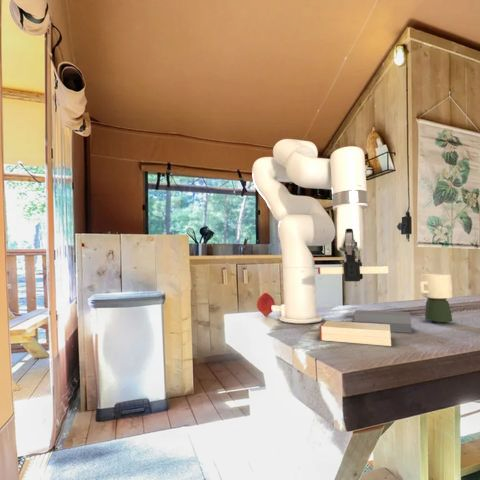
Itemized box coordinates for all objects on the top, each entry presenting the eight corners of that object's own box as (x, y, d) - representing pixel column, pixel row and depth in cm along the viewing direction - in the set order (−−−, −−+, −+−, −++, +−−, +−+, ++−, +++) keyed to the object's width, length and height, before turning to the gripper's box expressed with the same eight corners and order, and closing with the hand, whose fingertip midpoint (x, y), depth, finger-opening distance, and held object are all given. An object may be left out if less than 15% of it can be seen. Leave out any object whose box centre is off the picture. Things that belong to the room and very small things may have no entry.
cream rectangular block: (319, 340, 67) (318, 326, 68) (325, 333, 74) (324, 320, 74) (391, 346, 61) (390, 331, 62) (390, 338, 68) (389, 324, 68)
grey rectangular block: (351, 329, 78) (351, 313, 78) (353, 324, 83) (353, 309, 83) (411, 333, 72) (410, 315, 72) (409, 328, 77) (408, 312, 77)
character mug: (441, 318, 88) (438, 273, 89) (466, 323, 81) (462, 274, 82) (411, 321, 85) (408, 274, 86) (434, 326, 78) (431, 275, 79)
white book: (318, 274, 69) (317, 267, 69) (323, 273, 75) (323, 266, 75) (388, 273, 62) (387, 266, 63) (388, 272, 69) (387, 265, 69)
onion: (275, 314, 101) (274, 290, 102) (275, 317, 96) (274, 291, 96) (257, 314, 102) (256, 290, 103) (257, 317, 96) (256, 292, 97)
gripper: (337, 209, 79) (341, 278, 78) (326, 197, 64) (330, 282, 62) (369, 206, 76) (373, 278, 75) (365, 192, 61) (370, 282, 59)
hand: (354, 279), depth 69 cm, fingers closed on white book, 7 cm apart
